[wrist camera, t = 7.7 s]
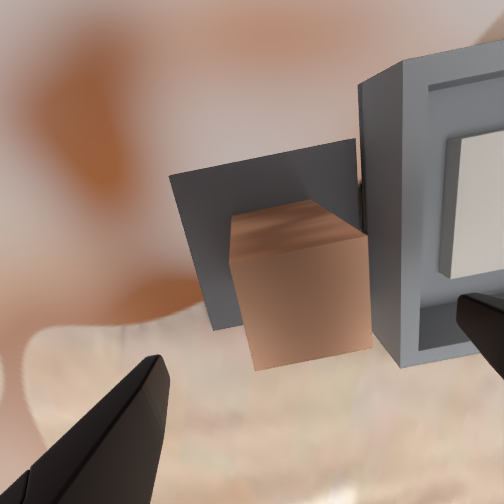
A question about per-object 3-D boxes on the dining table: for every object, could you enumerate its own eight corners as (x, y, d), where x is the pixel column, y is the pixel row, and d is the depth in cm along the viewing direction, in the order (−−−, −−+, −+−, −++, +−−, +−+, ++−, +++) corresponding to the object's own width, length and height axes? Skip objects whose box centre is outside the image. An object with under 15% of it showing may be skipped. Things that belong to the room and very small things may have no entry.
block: (310, 199, 15) (367, 235, 9) (318, 271, 17) (372, 348, 10) (231, 215, 15) (228, 263, 9) (247, 285, 17) (254, 371, 10)
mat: (350, 138, 15) (355, 138, 14) (359, 296, 18) (363, 301, 18) (171, 175, 15) (168, 176, 14) (213, 325, 18) (213, 330, 18)
